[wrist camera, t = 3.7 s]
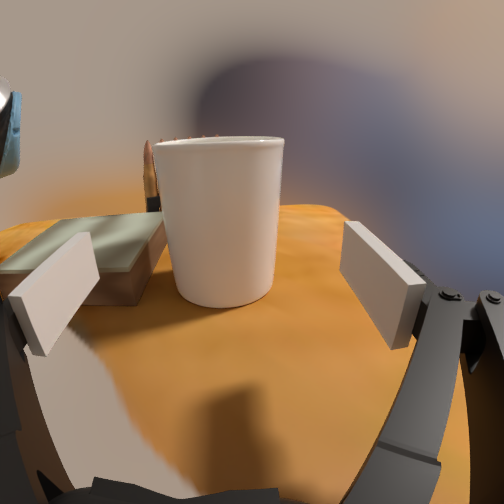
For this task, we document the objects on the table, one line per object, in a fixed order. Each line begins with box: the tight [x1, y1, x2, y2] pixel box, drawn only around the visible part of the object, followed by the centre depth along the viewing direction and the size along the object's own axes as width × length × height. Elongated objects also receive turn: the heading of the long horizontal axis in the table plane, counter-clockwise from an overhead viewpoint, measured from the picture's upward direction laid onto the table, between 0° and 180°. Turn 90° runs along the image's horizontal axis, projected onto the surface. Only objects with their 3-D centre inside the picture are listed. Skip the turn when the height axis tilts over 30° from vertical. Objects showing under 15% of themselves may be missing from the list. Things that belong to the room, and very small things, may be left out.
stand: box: [0, 212, 167, 306], centre depth 29 cm, size 15×15×3 cm
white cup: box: [152, 136, 285, 308], centre depth 24 cm, size 10×10×12 cm
